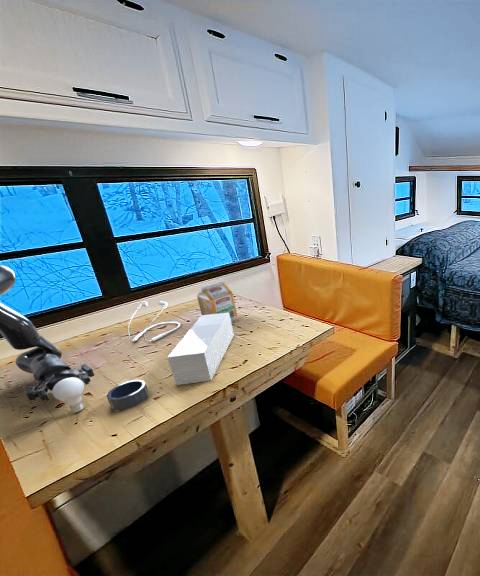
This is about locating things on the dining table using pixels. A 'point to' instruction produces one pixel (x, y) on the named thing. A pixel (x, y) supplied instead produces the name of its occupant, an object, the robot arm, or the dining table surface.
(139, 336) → the earphone
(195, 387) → the dining table surface
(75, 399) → the lightbulb
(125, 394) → the socket
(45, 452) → the dining table surface
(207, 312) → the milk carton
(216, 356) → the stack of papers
